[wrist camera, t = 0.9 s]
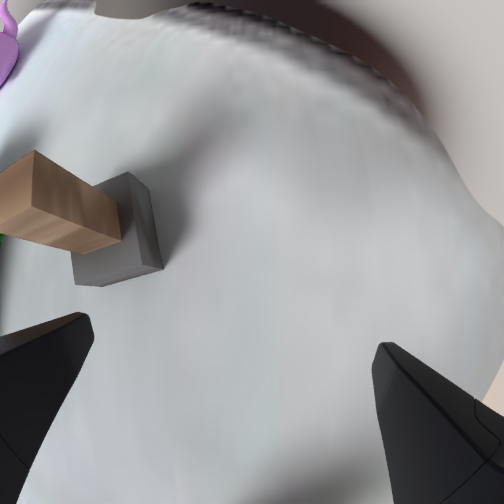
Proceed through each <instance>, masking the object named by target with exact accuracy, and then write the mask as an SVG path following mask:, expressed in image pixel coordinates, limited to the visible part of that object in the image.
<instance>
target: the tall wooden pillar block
mask: <svg viewBox="0 0 504 504" xmlns="http://www.w3.org/2000/svg"><path fill="white" fill-rule="evenodd" d="M0 233H2V234H5V235H9V236H13V237H16V238H20V239H24V240H28V241H32V242H35V243H39V244H43V245H47V246H51V247H55V248H59V249H63V250H67V251H71V259H72V266H73V274H74V280H75V285H84V286H99V287H103V286H107V285H111V284H114V283H118V282H121V281H125V280H128V279H132V278H135V277H139V276H142V275H146V274H150V273H153V272H157V271H160V270H163V265H162V260H161V255H160V250H159V245H158V240H157V235H156V229H155V224H154V218H153V212H152V206H151V200H150V194H149V189H148V188H147V187H146V186H144V185H143V184H142V183H141V182H140V181H139V180H138V179H136V178H135V177H134V176H133V175H132V174H131V173H129V172H126V173H124V174H121V175H119V176H116V177H114V178H111V179H109V180H107V181H104V182H102V183H100V184H97V185H95V186H93V187H92V186H91V185H89V184H88V183H86V182H84V181H83V180H81V179H80V178H78V177H76V176H75V175H73V174H72V173H70V172H68V171H67V170H65V169H64V168H62V167H61V166H59V165H58V164H56V163H54V162H53V161H51V160H50V159H48V158H47V157H45V156H44V155H42V154H40V153H39V152H37V151H36V150H33V151H32V152H30V153H29V154H27V155H26V156H24V157H23V158H21V159H20V160H18V161H17V162H15V163H14V164H13V165H11V166H10V167H9V168H7V169H6V170H4V171H3V172H2V173H0Z"/></svg>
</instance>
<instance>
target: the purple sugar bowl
mask: <svg viewBox="0 0 504 504" xmlns="http://www.w3.org/2000/svg"><path fill="white" fill-rule="evenodd" d="M0 17H1V19H2V20H3V22H4V30H3V32H0V86H1V85H2V83H3V82H4V81H5V79H6V78H7V76H8V75H9V73H10V72H11V70H12V68H13V67H14V65H15V63H16V60H17V57H18V41H17V40H16V36H17V33H18V26H17V23H16V21H15V19H14V18H13V17H12V15H11V14H10V13H9V11H8V9H7V0H4V1H3V2H2V4H1V5H0Z"/></svg>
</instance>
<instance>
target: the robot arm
mask: <svg viewBox="0 0 504 504" xmlns="http://www.w3.org/2000/svg"><path fill="white" fill-rule="evenodd" d="M93 342H94V332H93V329H92V325H91V321H90V317H89V316H88V315H87V314H85V313H81V312H75V313H72V314H69V315H66V316H63V317H60V318H57V319H54V320H51V321H48V322H45V323H41V324H38V325H35V326H32V327H29V328H26V329H23V330H20V331H17V332H14V333H11V334H8V335H5V336H1V337H0V504H16V503H17V500H18V498H19V495H20V493H21V490H22V488H23V485H24V483H25V480H26V478H27V476H28V473H29V471H30V468H31V466H32V464H33V462H34V459H35V457H36V455H37V453H38V451H39V449H40V447H41V445H42V442H43V440H44V438H45V436H46V434H47V432H48V430H49V428H50V426H51V424H52V422H53V420H54V419H55V417H56V415H57V413H58V411H59V409H60V407H61V405H62V403H63V402H64V400H65V398H66V396H67V394H68V393H69V391H70V389H71V387H72V385H73V384H74V382H75V380H76V378H77V376H78V374H79V372H80V370H81V368H82V366H83V363H84V361H85V359H86V357H87V355H88V352H89V350H90V348H91V346H92V344H93ZM372 378H373V385H374V394H375V402H376V411H377V417H378V421H379V426H380V430H381V435H382V440H383V445H384V449H385V455H386V460H387V465H388V470H389V476H390V482H391V488H392V494H393V501H394V504H504V417H503V416H501V415H500V414H498V413H496V412H495V411H493V410H492V409H490V408H489V407H487V406H486V405H484V404H483V403H481V402H480V401H479V400H477V399H474V397H473V396H471V395H470V394H468V393H467V392H465V391H464V390H462V389H461V388H460V387H458V386H457V385H455V384H454V383H452V382H451V381H449V380H448V379H446V378H445V377H443V376H442V375H441V374H439V373H438V372H436V371H435V370H433V369H432V368H430V367H429V366H427V365H426V364H424V363H423V362H422V361H420V360H419V359H417V358H416V357H414V356H413V355H411V354H410V353H408V352H407V351H405V350H404V349H402V348H401V347H400V346H398V345H397V344H395V343H393V342H382V343H380V344H379V346H378V348H377V351H376V354H375V358H374V361H373V364H372Z"/></svg>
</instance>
